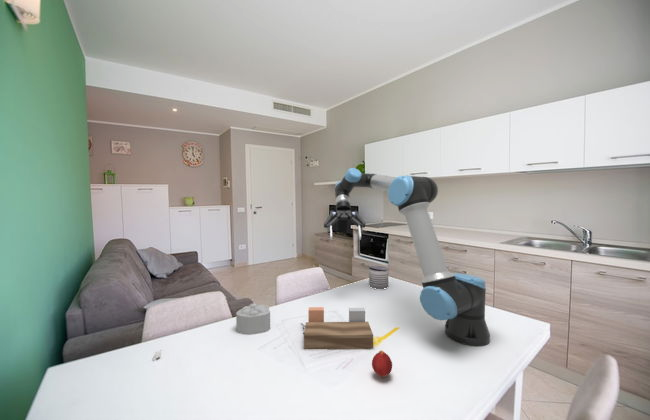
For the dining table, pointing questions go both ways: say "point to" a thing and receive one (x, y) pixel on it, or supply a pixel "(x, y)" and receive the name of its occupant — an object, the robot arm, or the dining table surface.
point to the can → (378, 277)
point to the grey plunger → (356, 315)
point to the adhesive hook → (157, 355)
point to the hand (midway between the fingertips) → (345, 238)
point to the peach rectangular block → (316, 314)
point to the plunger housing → (338, 335)
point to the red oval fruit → (382, 364)
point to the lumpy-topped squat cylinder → (253, 319)
